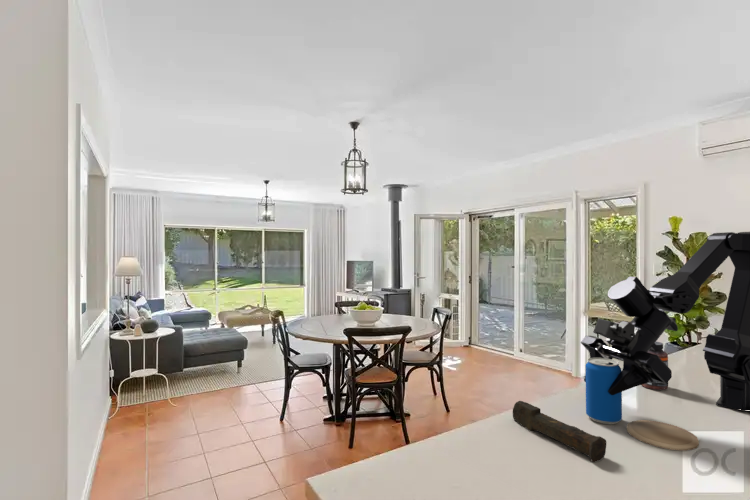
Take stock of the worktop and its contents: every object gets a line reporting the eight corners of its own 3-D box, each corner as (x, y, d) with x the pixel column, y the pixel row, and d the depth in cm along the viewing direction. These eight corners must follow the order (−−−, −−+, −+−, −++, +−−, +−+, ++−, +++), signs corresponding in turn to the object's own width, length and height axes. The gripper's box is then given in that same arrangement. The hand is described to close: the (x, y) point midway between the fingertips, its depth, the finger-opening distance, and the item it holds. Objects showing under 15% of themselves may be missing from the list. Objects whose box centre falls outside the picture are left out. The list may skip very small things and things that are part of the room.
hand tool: (609, 459, 67) (608, 432, 68) (593, 465, 66) (593, 437, 66) (523, 418, 85) (522, 396, 85) (508, 421, 83) (508, 399, 83)
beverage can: (621, 428, 78) (621, 367, 78) (584, 421, 82) (584, 362, 82) (622, 416, 84) (621, 359, 84) (587, 410, 87) (586, 355, 87)
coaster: (637, 418, 83) (637, 415, 83) (705, 436, 75) (705, 433, 75) (618, 434, 76) (618, 431, 76) (690, 457, 67) (690, 453, 67)
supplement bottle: (638, 381, 106) (637, 338, 106) (665, 384, 103) (665, 340, 103) (641, 388, 100) (641, 343, 100) (670, 392, 98) (670, 346, 98)
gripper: (587, 300, 93) (544, 350, 91) (658, 312, 74) (606, 376, 72) (617, 332, 94) (576, 382, 92) (694, 352, 76) (644, 415, 74)
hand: (597, 387), depth 83 cm, fingers closed on beverage can, 6 cm apart
